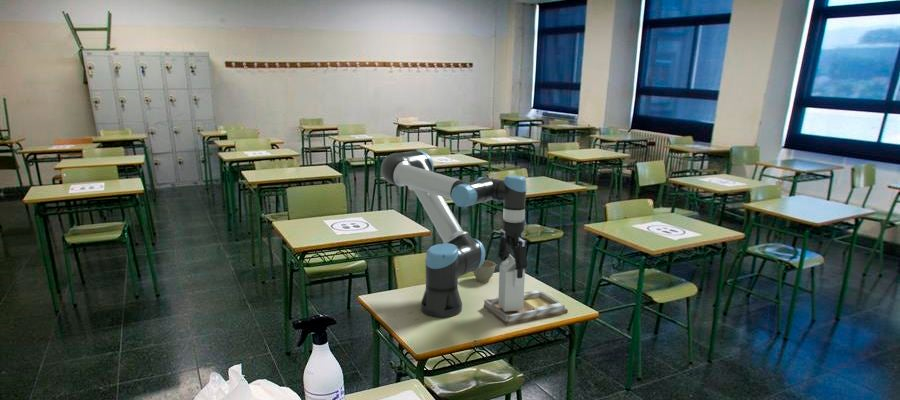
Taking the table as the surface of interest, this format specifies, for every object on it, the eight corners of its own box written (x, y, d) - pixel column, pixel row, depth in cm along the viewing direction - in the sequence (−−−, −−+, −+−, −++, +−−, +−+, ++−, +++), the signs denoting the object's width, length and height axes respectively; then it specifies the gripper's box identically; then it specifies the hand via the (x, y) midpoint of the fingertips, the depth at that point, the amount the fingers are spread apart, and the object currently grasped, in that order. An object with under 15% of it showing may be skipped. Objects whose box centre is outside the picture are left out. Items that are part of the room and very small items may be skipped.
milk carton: (516, 302, 191) (518, 253, 187) (523, 310, 184) (525, 259, 180) (498, 304, 189) (499, 254, 185) (504, 312, 182) (506, 260, 178)
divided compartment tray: (505, 325, 177) (506, 316, 176) (483, 307, 191) (483, 299, 191) (567, 312, 188) (568, 304, 187) (541, 296, 202) (542, 289, 201)
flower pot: (493, 285, 214) (494, 268, 212) (469, 283, 215) (469, 266, 214) (496, 276, 223) (496, 261, 222) (473, 274, 225) (473, 259, 224)
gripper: (540, 226, 172) (536, 290, 177) (507, 212, 190) (505, 271, 195) (520, 228, 169) (518, 293, 174) (489, 214, 187) (487, 273, 192)
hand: (511, 281), depth 184 cm, fingers closed on milk carton, 8 cm apart
